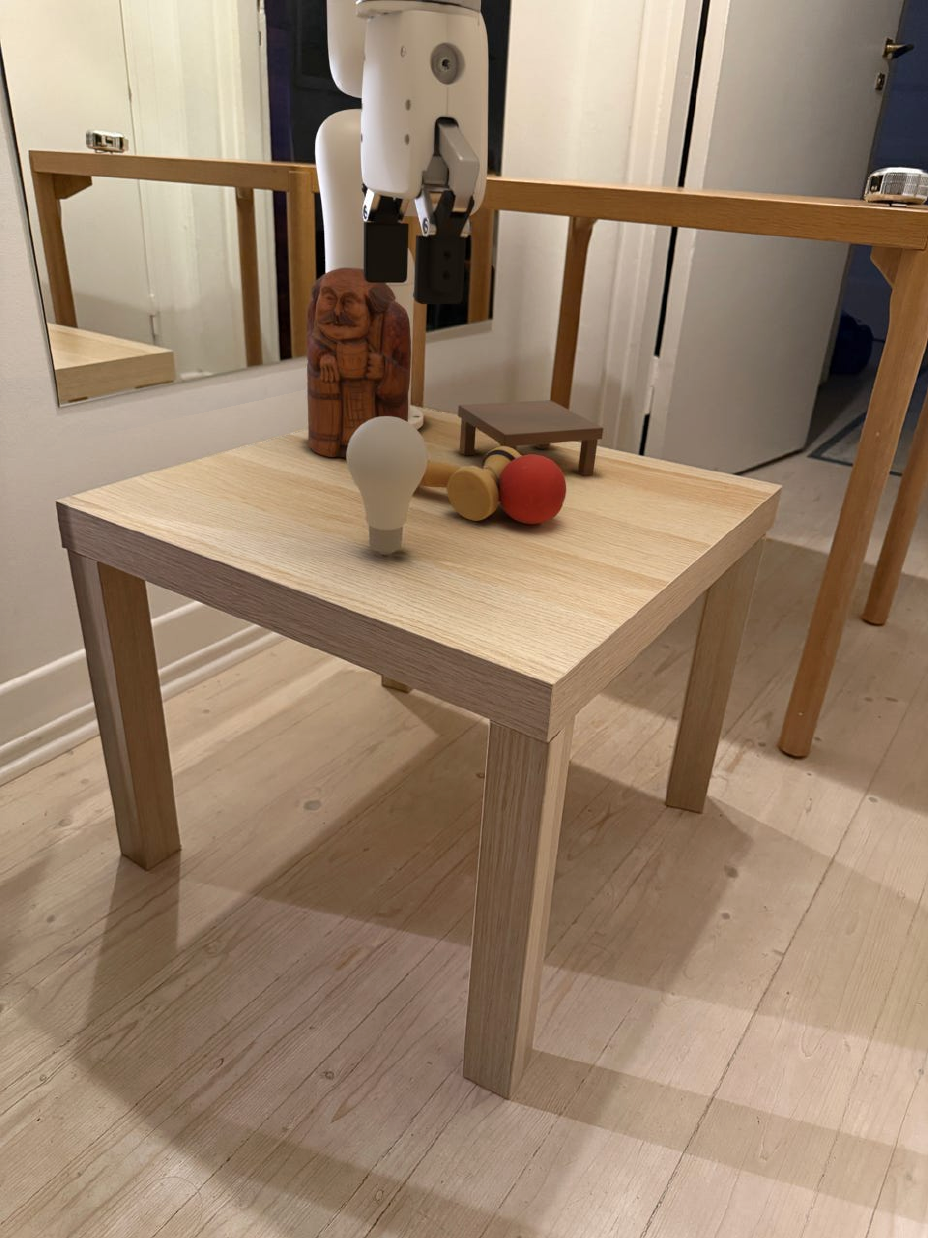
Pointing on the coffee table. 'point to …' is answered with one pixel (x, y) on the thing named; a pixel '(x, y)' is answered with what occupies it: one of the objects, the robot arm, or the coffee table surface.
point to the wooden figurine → (354, 358)
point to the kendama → (502, 486)
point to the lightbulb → (386, 475)
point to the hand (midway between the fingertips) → (410, 291)
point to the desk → (530, 427)
